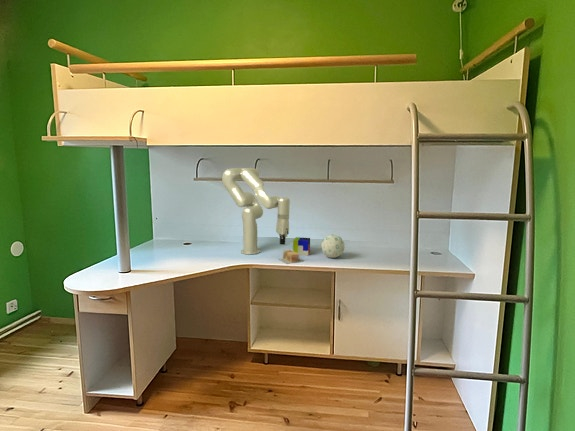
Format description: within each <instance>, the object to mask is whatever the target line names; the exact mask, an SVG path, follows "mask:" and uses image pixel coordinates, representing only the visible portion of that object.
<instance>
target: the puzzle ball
mask: <svg viewBox="0 0 575 431" xmlns="http://www.w3.org/2000/svg"><path fill="white" fill-rule="evenodd" d="M320 246H321V251H322V253H323V254H324V255H325V256H326V257H328V258H331V259H335V258H338V257H339V256H341V255H342V254H343V253H344V251H345V242H344V240H343V239H342V237H341V236H339V235H338V234H329V235H327V236H325V237H324V238H323V239H322V240H321V244H320Z"/></svg>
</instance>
